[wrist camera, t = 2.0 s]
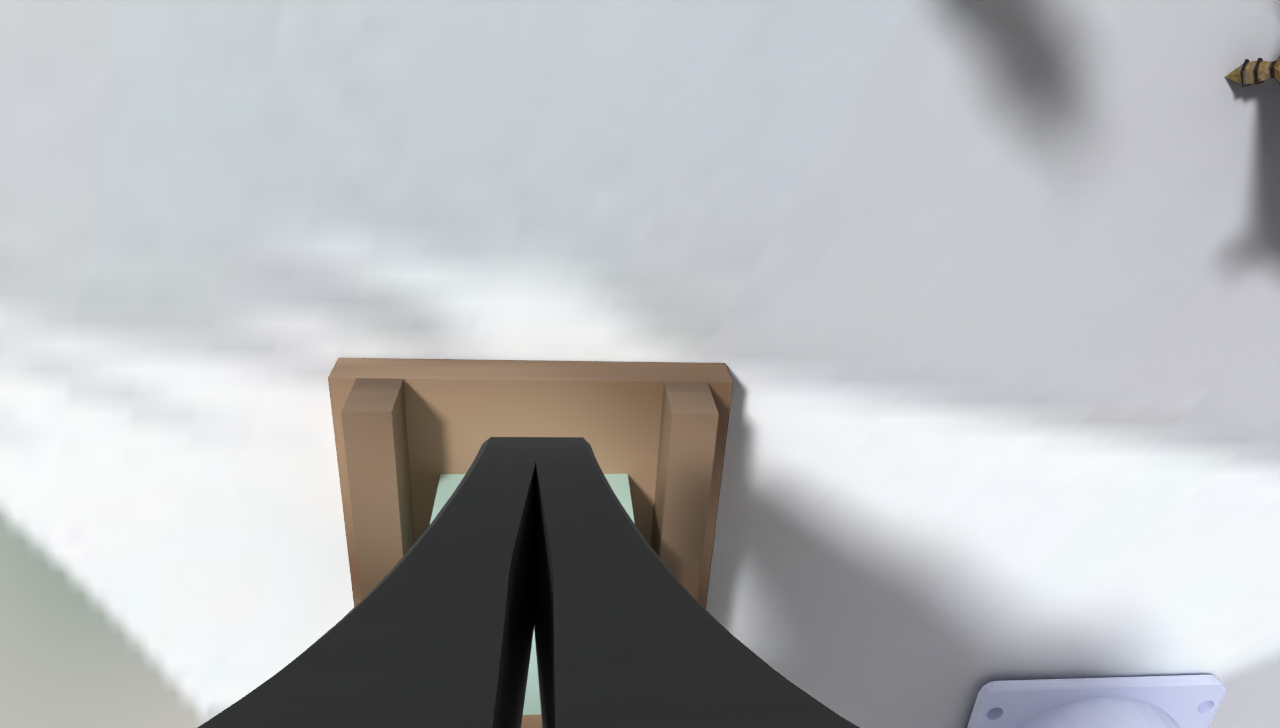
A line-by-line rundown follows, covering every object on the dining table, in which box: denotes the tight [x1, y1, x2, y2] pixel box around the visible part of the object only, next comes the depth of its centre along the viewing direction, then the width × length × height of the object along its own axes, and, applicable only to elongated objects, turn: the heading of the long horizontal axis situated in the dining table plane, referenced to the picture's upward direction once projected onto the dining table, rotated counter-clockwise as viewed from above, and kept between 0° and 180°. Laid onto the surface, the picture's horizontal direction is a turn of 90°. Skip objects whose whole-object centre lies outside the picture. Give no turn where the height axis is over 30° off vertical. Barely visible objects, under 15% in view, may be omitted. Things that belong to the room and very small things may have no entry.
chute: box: [328, 358, 733, 728], centre depth 21 cm, size 13×9×4 cm
